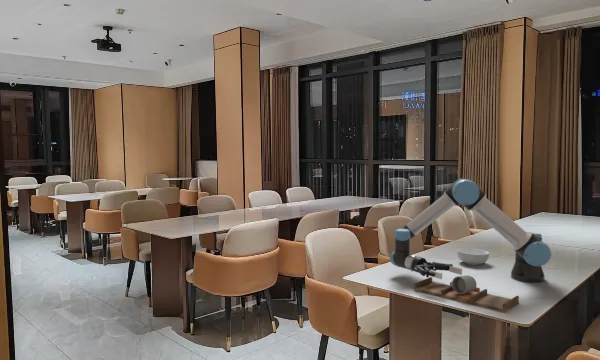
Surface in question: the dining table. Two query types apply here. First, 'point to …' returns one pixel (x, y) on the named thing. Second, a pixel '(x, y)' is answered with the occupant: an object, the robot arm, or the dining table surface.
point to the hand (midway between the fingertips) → (451, 273)
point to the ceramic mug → (463, 284)
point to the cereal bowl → (473, 256)
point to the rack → (467, 295)
